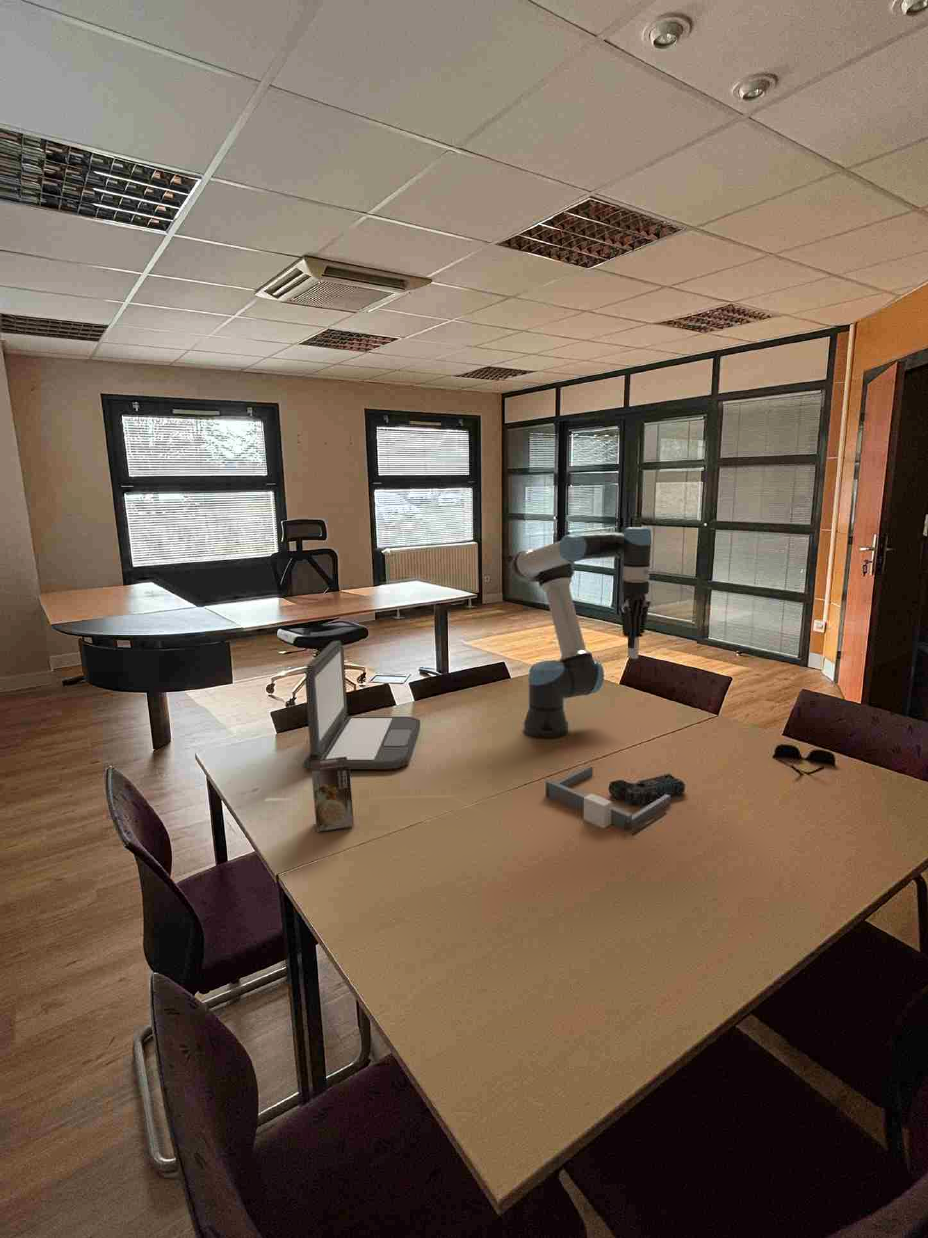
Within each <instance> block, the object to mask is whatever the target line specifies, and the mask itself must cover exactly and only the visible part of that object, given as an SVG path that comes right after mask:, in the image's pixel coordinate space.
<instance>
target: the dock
mask: <svg viewBox="0 0 928 1238" xmlns="http://www.w3.org/2000/svg"><path fill="white" fill-rule="evenodd" d="M593 768H594V767H593V766H592V765H590V764H589V765H587V766H585V767H583V768H581V769H579V770H577V771H574V772H572V773H571V774H568V775H567V776H564V777H562V778H561V779H559V780H556V781H553V780H552V779H548V780H546V781H545V796H547V797H548V798H550V799H553V800H555V801H558V802H560V803H562V804H565V805H567V806H569V807H571V808H573V809H575V810H577V811H580V812H582V813H583V820H584V821H586V822H589V823H591V824H593V825H595V826H597V827H600V828H602V829H604V828H606V827H608V826H609V825H613V826H616V827H618V828H619V829H620V828H621V829H622V830H625V831H627V832H629V831H630V830H632V829H634V828H635V827H637V826H638V825H639V824H641V823H642V822H644V821H646V820H647V819H649V818H651V817H652V816H653V815H654V814H657V813H658V812H660V811H661V810H663V809H664V808H665V807H668V806H669V805H670V804H671V797H670V795H667V794H665V795H664V796H662V797H661V798H659V799H657V800H656V801H653V802H650V804H649V803H648V805H646V806H645V807H643V808H642V809H640V810H638V811H637V812H635V813H633V814H632V813H630V812H628V811H625V810H623V809H621V808H618V807H616V806H613V805H612V804H613V803H612V802H613V801H611V800H609V799H606V798H604V797H601V796H598V795H596V794H594V793H589V794H588V795H587V794H584V793H583V792H580V791H577V790H575V789H573V788H570V787H572V786H573V785H575V784H577V783H580V782H581V781H583V780H584V779H585V780H586V779H587V778H588V777H590V776H593V774H594V773H593V770H594V769H593ZM666 814H667V812H666V811H665V810H664V811H663V812H661V813H660V814H658V815H656V816H654V817H653V818H652V819H650V820H649V821H646V822H645V823H644V824H642V825H641V826H639V827H638V828H636V829H635V830H634V831H631V833H630V834H631V836H635V835H637V834H638V833H640V832H641V831H642V830H644V829H646V828H647V827H649V826H650V825H652V824H653V823H655V822H656V821H658V820H659V819H661V818H662V817H663V816H665V815H666Z"/></svg>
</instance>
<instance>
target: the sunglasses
mask: <svg viewBox="0 0 928 1238" xmlns="http://www.w3.org/2000/svg"><path fill="white" fill-rule="evenodd" d="M778 758H780V759H790V758H793V759H792V760H800V759H804V760H803V761H808V762H813V763H819V764H823V765H829V766H834V767H836V757H835V755H834V753H833V752H831V751H828V750H825V749H818V748H817V749H816V748H815V749H813V750H811V751H810V752H809V754H807V756H806V757H802V754H801V751H800V750H799V748H798V747H797V746H795V745H792V744H785V743H781V744H778V745H776V747H775V749H774V754H772V759H775V760H776V761H778V762H780V763H781V764H784V765H786V766H788V767H790V768H791V769H792V770H793V771H795V772H796V773H797V774H798V775H800V776H805V775H812V774H815V773H818V772H821V771H823V770H825V766H823V765H822V766H820V767H818V768H816V769H814V770H812V771H803V770H801V769H799V768H797V767H796V766H795V765H793V764H791V765H790V764H788V763H786V762H784V761H782V760H780V759H778Z"/></svg>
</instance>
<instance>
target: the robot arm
mask: <svg viewBox="0 0 928 1238" xmlns="http://www.w3.org/2000/svg"><path fill="white" fill-rule="evenodd" d="M651 549H652V531H651V529H650V528H649V527H647V526H643V527H642V526H629V527H625V529H624V532H617V531H613V530H611V531H608V530H607V531H603V532H596V533H579V534H578V533H573V534H566V535H563V537H562V538H561V540H559V541H557V542H554V543H551V544H548V545H545V546H542V547H539V548H536V549H525V550H522V551H519V552H517V553H516V554H515V555H514V556H513V558H512V559H511V562H510V570H511V572H512V575H513V576H514V577H515V578H516V579H517V580H519V581H521V582H524V583H538V586H539V589H540V590H541V591H543V592H545V597H546V600H547V603H548V608H549V611H550V614H551V620H552V623H553V627H554V631H555V635H556V638H557V642H558V646H559V650H560V654H561V657H560V658H559V660H543V661H539V662H536V663H534V664H532V666H531V667H530V668H529V673H528V678H527V679H528V680H527V681H528V710H527V712H526V715H525V718H524V719H525V720H524V721H523V731H524V732H525V734H527V735H529V736H532V737H535V738H539V739H554V738H556V739H557V738H560V737H563V736H565V735H566V734H568V733H569V721H567V717H566V714H565V709H564V699H570V698H575V697H581V696H582V697H583V696H588V695H591V694H592V695H593V694H595V693H598V692H599V691H600V689H601V688H602V686H603V683H604V680H605V673H604V672H605V671H604V667H603V665H602V664H601V662H600V661H599V660H598V659H595V658H593V654H592V652H590V651H589V650H587V649H586V645H585V642H584V637H583V635H582V634H583V633H582V630H581V626H580V623H579V618H578V615H577V612H576V608H575V604H574V601H573V597H572V593H571V589H570V585H571V583H572V577H573V576H574V574H575V568H576V566H575V562H576V563H577V562H579V561H582V560H591V559H592V560H593V559H606V558H619V559H620V558H621V559H623V564H622V565H623V568H622V579H623V581H622V593H623V594H624V595H625V597H624V600H623V601H624V603H623V605H619V606H618V610H619V612H620V619H621V627H622V634H623V636H624V637H627V658H629V659H633V660H637V659H639V647H640V638H642V637H643V636H644V635H643V634H644V633H645V630H646V629H645V627H646V623H647V617H648V612H649V609H650V605H651V601H650V600H646V599H647V598H646V597H647V596H646V595H648V594H649V591H650V582H649V581H648V580H649V579H650V573H651V571H650V566H651V551H652V550H651Z"/></svg>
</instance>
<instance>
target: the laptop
mask: <svg viewBox="0 0 928 1238" xmlns="http://www.w3.org/2000/svg"><path fill="white" fill-rule="evenodd" d="M305 695H306V708H307V720H308V721H307V723H308V734H309V735H308V736H309V747H310V753H309V754H308V756H307V757H306V759H305V760H304V762H303V763H302V766H303V767H302V768H304V769H308V770H309V769H310V770H311V761H316V760H324V759H331V758H339V757H347V760H348V763H349V770H393V769H399V768H402V767H405V766H409V765H410V762H411V759H412V755H413V752H414V749H415V746H416V743H417V739H418V736H419V733H420V730H421V729H420V728H421V720H420V719H418V718H415V717H413V716H349V715H348V714H349V713H348V712H347V711H348V699H347V696H348V695H347V681H346V666H345V650H344V647H343V643H342V641H341V640H333V641H331V642H330V643H329V644H328V645H327V646H326V647H324V649H322V650H321V652H320V653H318V654H317V655H316V656H315V657H314V658H313V659H311V661H310V662H309V663H308V664H307V666H306V672H305Z"/></svg>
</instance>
